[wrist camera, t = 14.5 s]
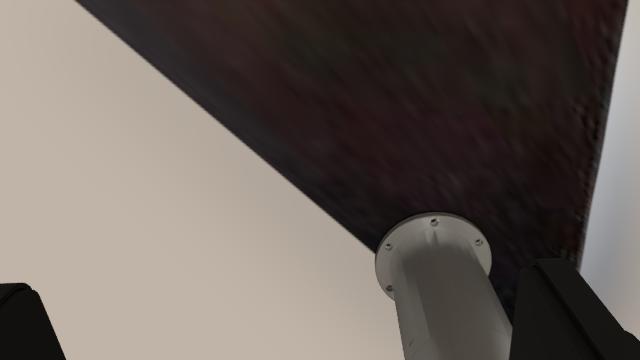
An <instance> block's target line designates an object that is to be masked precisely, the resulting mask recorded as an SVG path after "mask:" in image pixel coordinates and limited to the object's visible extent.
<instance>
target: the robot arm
mask: <svg viewBox="0 0 640 360" xmlns="http://www.w3.org/2000/svg"><path fill="white" fill-rule="evenodd" d="M433 219H434V220H433ZM490 268H491V251H490V248H489V244H488V243H487V241H486V239H485V237H484V235H483V234H482V233H481V231H480V230H479V229H478V228H477V227H476V226H475V225H474V224H473V223H472V222H470V221H468V220H466V219H465V218H463V217H460V216H457V215H455V214H451V213H445V212H428V213H422V214H417V215H415V216H412V217H409V218H407V219H405V220H403V221H401V222H399V223H398V224H397V225H395V226H394V227H393V228H392V229H390V230H389V231H388V233H387V234H386V235H385V236H384V237H383V239H382V240H381V242H380V244H379V246H378V249H377V252H376V255H375V271H376V276H377V279H378V282H379V284H380V286H381V288H382V289H383V291H384V292H385V293H386V294H387V295H388V296H389V297H390V298H391V299H393V300H394V301H395V304H396V310H397V316H398V321H399V328H400V334H401V339H402V345H403V351H404V357H405V360H640V341H639V340H638V339H637V338H636V337H635V336H634V335H633V334H631V333H629V332H627V331H625V330H624V329H623V328H622V327H621V326H620V324H619V323H618V322H617V320H616V319H615V318H614V317H613V316H612V314H611V313H610V312H609V311H608V309H607V308H606V306H605V305H604V304H603V303H602V301H601V300H600V299H599V298H598V296H597V295H596V294H595V293H594V291H593V290H592V289H591V288H590V286H589V285H588V284H587V283H586V281H585V280H584V279H583V278H582V276H581V275H580V274H579V272H578V271H577V270H576V269H575V267H574V266H573V265H572V264H571V262H570V261H569V260H568V259H565V258H552V259H533V260H531V262H530V264H529V267H528V268H522V269H521V270H520V272H519V279H518V287H517V295H516V304H515V312H514V320H513V328H512V326H511V324H510V322H509V320H508V318H507V316H506V314H505V312H504V309H503V307H502V305H501V303H500V301H499V299H498V297H497V295H496V293H495V291H494V289H493V287H492V285H491V283H490V281H489V279H488V275H489V272H490ZM0 360H66V358H65V356H64V353H63V351H62V349H61V346H60V344H59V341H58V339H57V336H56V334H55V332H54V329H53V327H52V325H51V322H50V320H49V317H48V315H47V312H46V310H45V308H44V305H43V303H42V301H41V298H40V296H39V294H38V292H36V291H35V290H32V289H31V287H30V286H29V285H28V284H26V283H5V284H0Z"/></svg>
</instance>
